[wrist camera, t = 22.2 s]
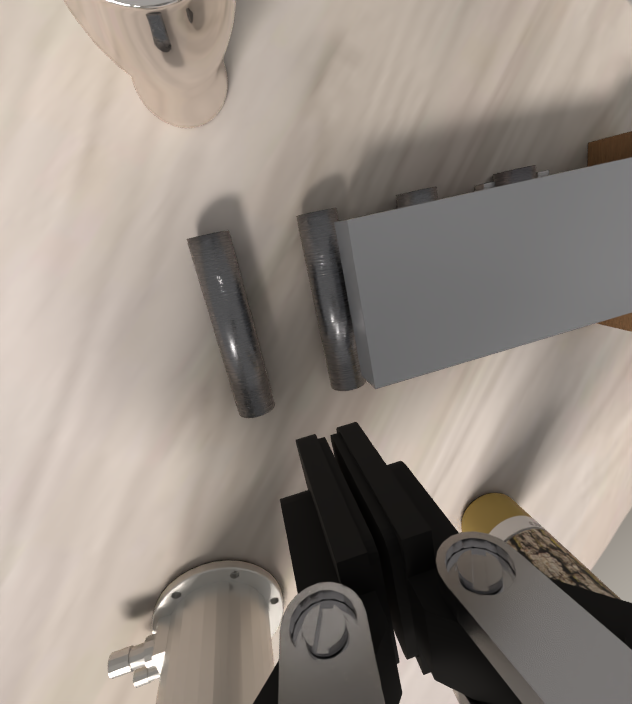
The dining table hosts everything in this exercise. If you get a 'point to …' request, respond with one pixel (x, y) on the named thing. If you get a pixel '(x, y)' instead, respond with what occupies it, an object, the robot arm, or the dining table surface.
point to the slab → (487, 270)
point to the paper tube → (529, 540)
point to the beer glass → (166, 51)
